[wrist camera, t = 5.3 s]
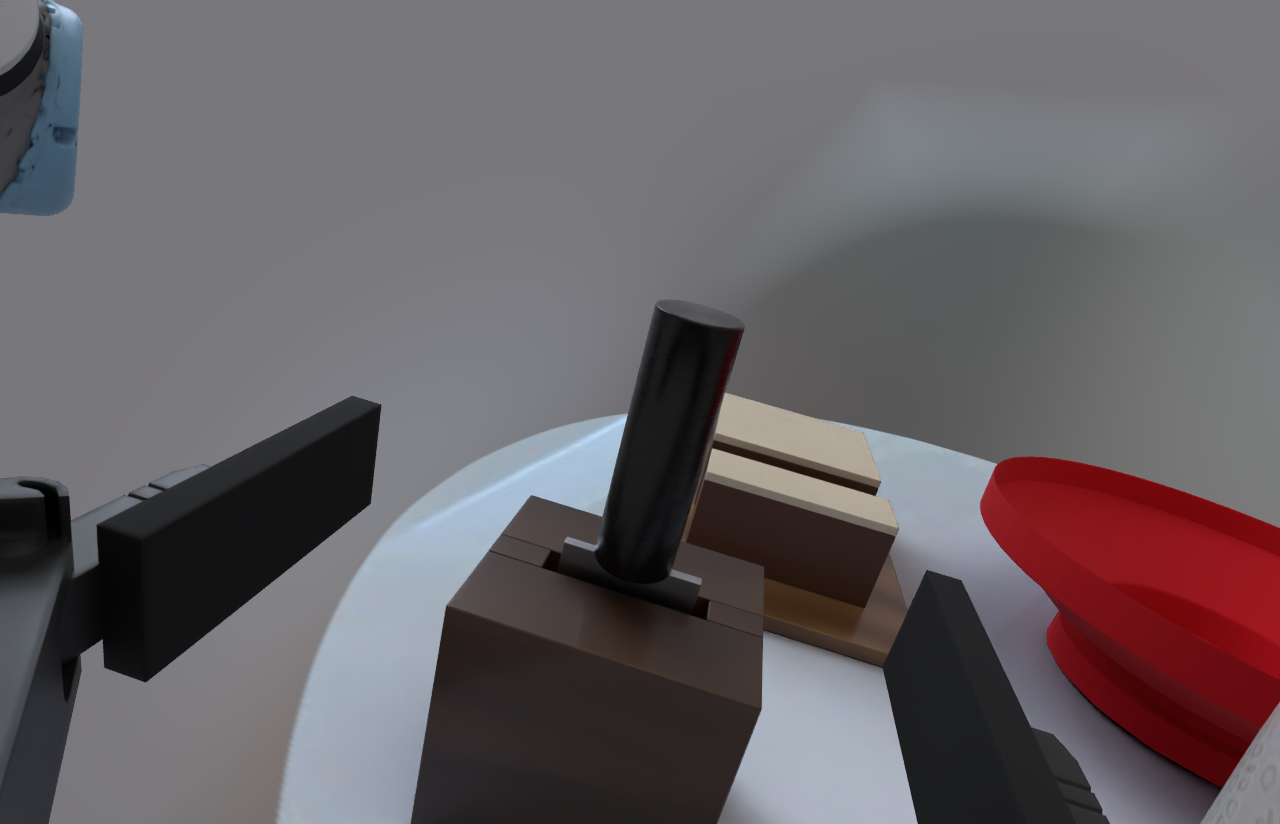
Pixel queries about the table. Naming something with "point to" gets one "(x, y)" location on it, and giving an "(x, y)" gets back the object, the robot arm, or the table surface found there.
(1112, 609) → the bowl
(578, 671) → the knife block
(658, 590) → the knife
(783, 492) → the cake slice
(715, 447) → the cake
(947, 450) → the table surface
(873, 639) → the cake board
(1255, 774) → the planter
